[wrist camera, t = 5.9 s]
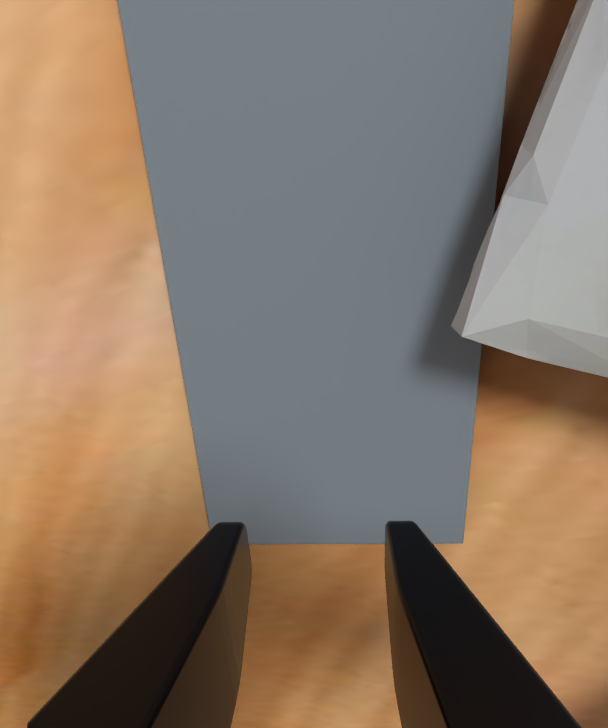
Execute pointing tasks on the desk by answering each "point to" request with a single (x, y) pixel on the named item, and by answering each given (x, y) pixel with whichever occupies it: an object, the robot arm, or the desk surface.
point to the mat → (324, 248)
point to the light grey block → (553, 219)
